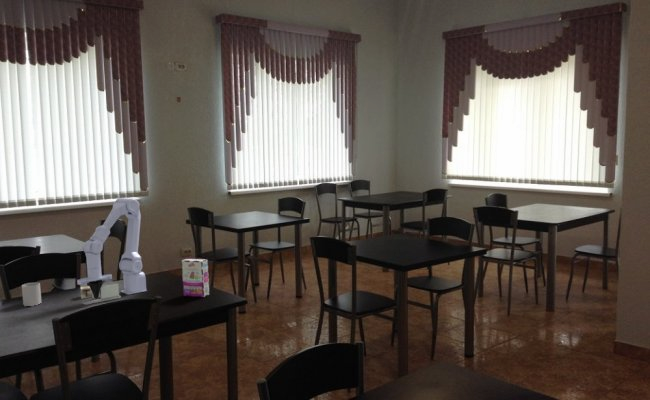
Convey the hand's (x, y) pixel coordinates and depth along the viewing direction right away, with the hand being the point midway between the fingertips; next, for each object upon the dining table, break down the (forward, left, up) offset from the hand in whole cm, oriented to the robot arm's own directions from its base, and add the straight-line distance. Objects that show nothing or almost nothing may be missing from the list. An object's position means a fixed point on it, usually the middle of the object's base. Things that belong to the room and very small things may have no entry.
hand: (96, 297), depth 264 cm
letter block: (0, -13, -2) cm, 13 cm away
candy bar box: (-37, +23, -2) cm, 43 cm away
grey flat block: (-6, 0, -2) cm, 6 cm away
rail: (-3, 0, -2) cm, 3 cm away
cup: (+21, -19, -2) cm, 29 cm away
